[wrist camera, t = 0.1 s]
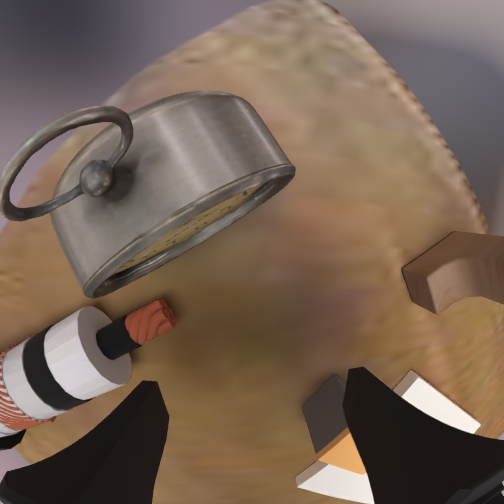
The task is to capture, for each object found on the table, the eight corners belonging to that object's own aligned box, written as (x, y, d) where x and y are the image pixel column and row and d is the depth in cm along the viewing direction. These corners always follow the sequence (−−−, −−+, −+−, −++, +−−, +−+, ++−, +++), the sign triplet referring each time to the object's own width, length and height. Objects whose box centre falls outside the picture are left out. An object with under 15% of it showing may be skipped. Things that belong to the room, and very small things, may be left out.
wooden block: (454, 230, 20) (601, 248, 5) (463, 263, 20) (600, 300, 5) (400, 268, 20) (562, 329, 5) (412, 303, 20) (554, 383, 6)
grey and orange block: (341, 426, 22) (362, 475, 15) (301, 406, 21) (317, 459, 15) (371, 396, 21) (402, 441, 15) (334, 373, 21) (361, 421, 14)
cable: (193, 313, 25) (221, 409, 16) (-2, 408, 22) (-10, 468, 14) (127, 220, 19) (115, 310, 11) (-54, 362, 16) (-74, 422, 8)
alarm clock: (148, 275, 20) (-29, 393, 4) (112, 212, 19) (-92, 213, 3) (281, 194, 19) (421, 107, 3) (241, 129, 19) (235, -76, 3)
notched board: (388, 499, 24) (391, 506, 22) (295, 477, 22) (297, 486, 21) (475, 419, 23) (480, 424, 21) (410, 369, 21) (418, 376, 20)
